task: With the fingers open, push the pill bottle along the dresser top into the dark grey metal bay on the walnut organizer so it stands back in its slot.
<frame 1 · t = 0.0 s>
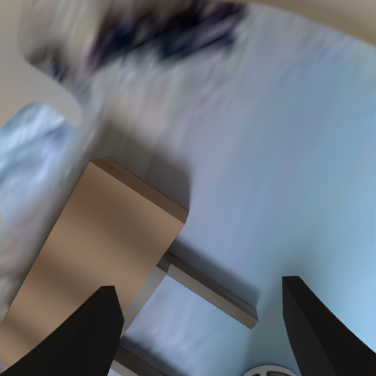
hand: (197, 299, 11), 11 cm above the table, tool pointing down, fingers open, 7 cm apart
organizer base: (175, 328, 24), on the table
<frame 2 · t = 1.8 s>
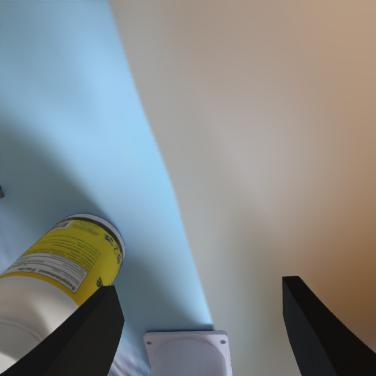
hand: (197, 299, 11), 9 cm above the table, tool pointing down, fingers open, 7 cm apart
pill bottle: (92, 242, 22), on the table
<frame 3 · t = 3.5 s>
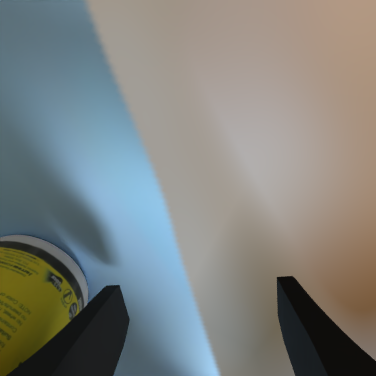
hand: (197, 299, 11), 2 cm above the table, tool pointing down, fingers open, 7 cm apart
pill bottle: (39, 277, 14), on the table, touching gripper
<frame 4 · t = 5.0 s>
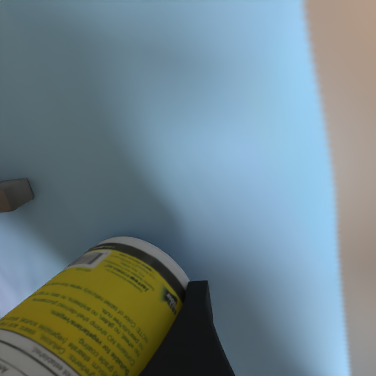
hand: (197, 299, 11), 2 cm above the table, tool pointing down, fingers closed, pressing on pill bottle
pill bottle: (145, 284, 13), point 1 cm above the table, touching gripper
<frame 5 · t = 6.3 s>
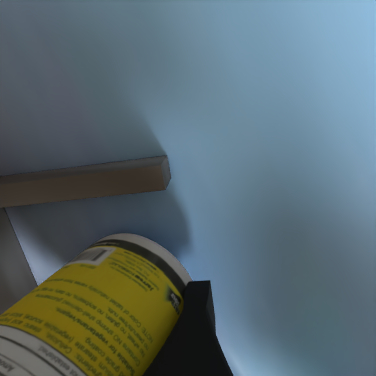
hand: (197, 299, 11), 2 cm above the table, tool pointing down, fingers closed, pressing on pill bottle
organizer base: (103, 275, 14), on the table
pill bottle: (145, 281, 13), point 1 cm above the table, touching gripper
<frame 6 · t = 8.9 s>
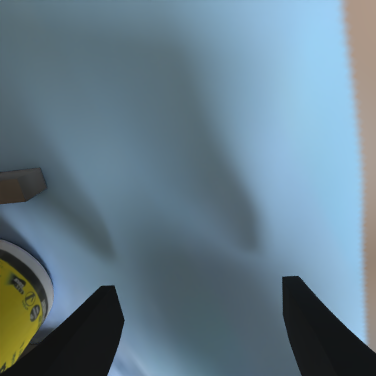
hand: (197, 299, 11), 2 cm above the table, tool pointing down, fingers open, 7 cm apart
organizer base: (2, 279, 15), on the table
pill bottle: (7, 277, 15), on the table
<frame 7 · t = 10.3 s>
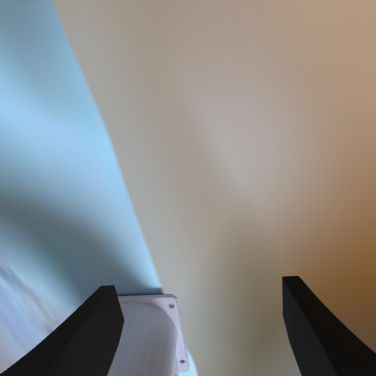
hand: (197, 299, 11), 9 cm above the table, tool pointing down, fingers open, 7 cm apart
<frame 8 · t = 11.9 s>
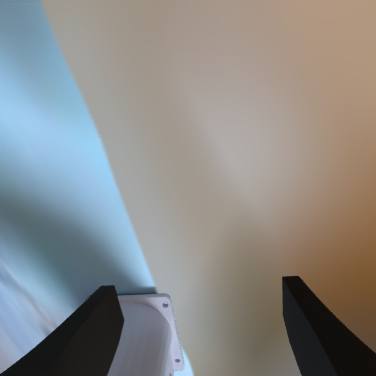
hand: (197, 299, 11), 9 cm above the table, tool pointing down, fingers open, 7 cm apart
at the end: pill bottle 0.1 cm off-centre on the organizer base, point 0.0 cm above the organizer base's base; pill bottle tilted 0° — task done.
